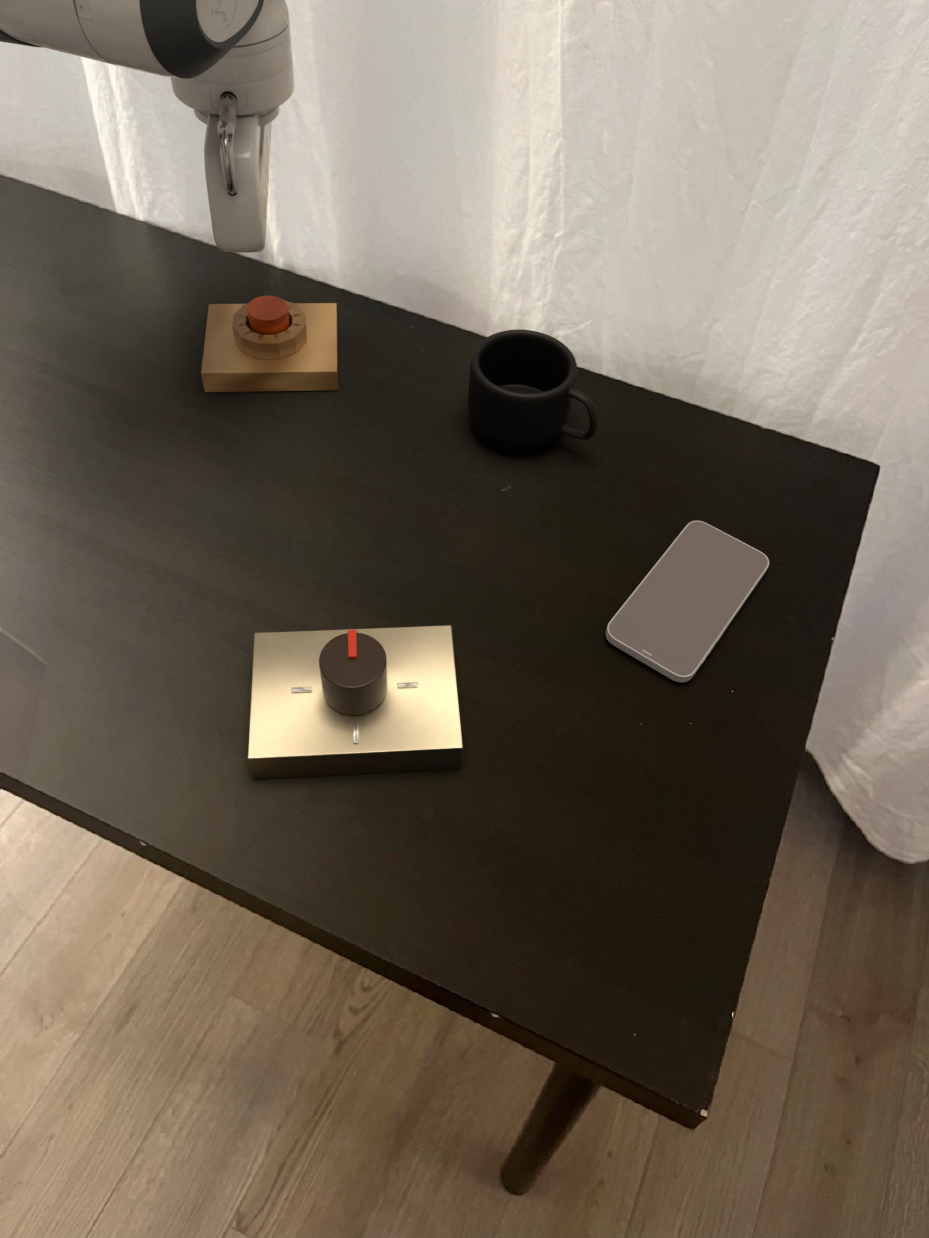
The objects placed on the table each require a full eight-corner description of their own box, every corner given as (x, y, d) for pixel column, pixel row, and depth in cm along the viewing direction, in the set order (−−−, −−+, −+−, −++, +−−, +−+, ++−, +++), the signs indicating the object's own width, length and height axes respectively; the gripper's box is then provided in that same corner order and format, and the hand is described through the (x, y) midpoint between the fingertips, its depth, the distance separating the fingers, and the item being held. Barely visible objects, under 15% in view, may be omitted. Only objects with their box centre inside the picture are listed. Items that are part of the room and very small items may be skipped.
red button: (248, 336, 86) (246, 320, 84) (250, 311, 88) (247, 295, 86) (289, 336, 86) (287, 320, 85) (290, 311, 88) (288, 295, 87)
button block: (204, 392, 86) (197, 356, 83) (212, 323, 92) (205, 287, 89) (338, 390, 87) (336, 355, 84) (337, 322, 93) (335, 286, 90)
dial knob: (388, 713, 64) (388, 683, 61) (322, 717, 64) (318, 687, 61) (385, 659, 67) (385, 627, 64) (322, 662, 66) (318, 630, 63)
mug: (446, 432, 85) (450, 368, 79) (500, 379, 90) (506, 314, 84) (563, 490, 81) (576, 428, 76) (612, 431, 86) (628, 368, 80)
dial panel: (253, 779, 64) (247, 757, 62) (259, 656, 70) (253, 631, 67) (460, 768, 65) (463, 746, 63) (449, 648, 71) (451, 623, 69)
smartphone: (774, 558, 77) (688, 682, 69) (771, 566, 78) (685, 689, 70) (693, 516, 79) (601, 631, 71) (690, 523, 80) (599, 638, 72)
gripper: (271, 137, 63) (289, 314, 74) (278, 4, 75) (293, 174, 86) (173, 136, 63) (206, 314, 74) (196, 2, 74) (221, 173, 86)
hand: (253, 237), depth 80 cm, fingers closed
